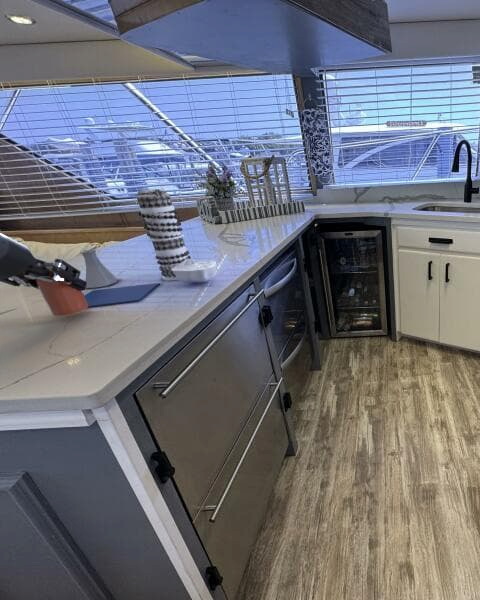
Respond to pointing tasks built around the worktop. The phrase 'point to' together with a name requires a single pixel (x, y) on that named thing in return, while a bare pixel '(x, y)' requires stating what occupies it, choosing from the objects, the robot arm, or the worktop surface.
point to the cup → (62, 297)
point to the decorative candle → (163, 230)
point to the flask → (96, 271)
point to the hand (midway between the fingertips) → (67, 287)
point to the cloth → (118, 295)
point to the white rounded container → (195, 271)
